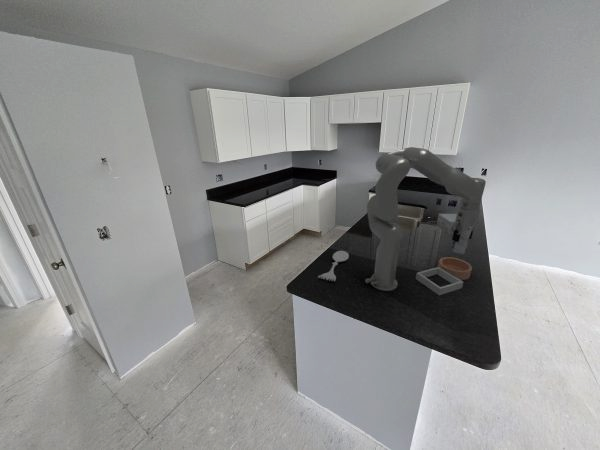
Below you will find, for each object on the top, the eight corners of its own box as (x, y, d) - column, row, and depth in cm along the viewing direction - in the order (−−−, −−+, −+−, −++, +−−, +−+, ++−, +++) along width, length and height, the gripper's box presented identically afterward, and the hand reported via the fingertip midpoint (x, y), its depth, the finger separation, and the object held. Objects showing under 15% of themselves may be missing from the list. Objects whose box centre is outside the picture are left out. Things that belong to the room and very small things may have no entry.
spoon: (317, 282, 125) (317, 276, 123) (335, 253, 152) (335, 248, 150) (334, 286, 121) (335, 280, 120) (350, 255, 148) (350, 250, 147)
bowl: (455, 282, 122) (457, 274, 120) (431, 267, 134) (432, 260, 133) (476, 276, 126) (478, 268, 125) (451, 262, 139) (453, 255, 137)
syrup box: (453, 247, 130) (459, 220, 124) (466, 250, 126) (473, 223, 121) (450, 251, 125) (457, 224, 120) (464, 255, 122) (471, 227, 116)
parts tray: (439, 295, 113) (440, 289, 112) (415, 278, 125) (416, 272, 124) (461, 288, 118) (463, 281, 116) (436, 272, 130) (438, 266, 128)
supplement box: (467, 234, 173) (470, 221, 169) (447, 234, 173) (450, 221, 170) (454, 225, 188) (456, 213, 185) (436, 225, 189) (438, 213, 185)
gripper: (463, 210, 111) (455, 245, 117) (491, 205, 116) (481, 239, 123) (448, 205, 117) (441, 239, 124) (475, 200, 123) (467, 233, 129)
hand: (461, 239), depth 123 cm, fingers closed on syrup box, 7 cm apart
